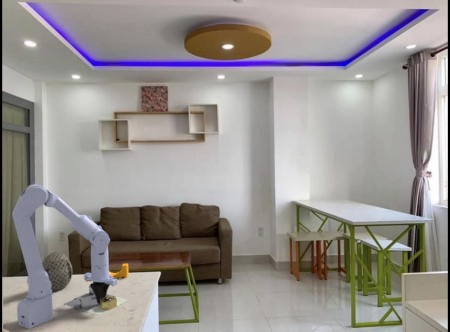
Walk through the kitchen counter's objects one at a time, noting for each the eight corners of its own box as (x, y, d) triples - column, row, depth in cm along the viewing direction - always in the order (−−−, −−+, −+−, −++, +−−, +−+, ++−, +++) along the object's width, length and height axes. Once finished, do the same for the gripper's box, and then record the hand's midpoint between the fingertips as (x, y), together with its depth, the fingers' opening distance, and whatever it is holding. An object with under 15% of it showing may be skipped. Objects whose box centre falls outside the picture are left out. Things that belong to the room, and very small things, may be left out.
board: (99, 318, 112) (99, 315, 112) (63, 306, 120) (63, 304, 120) (128, 302, 123) (128, 299, 123) (93, 293, 132) (93, 290, 132)
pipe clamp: (97, 282, 144) (96, 267, 143) (100, 278, 148) (100, 263, 148) (125, 282, 143) (125, 266, 143) (128, 278, 148) (128, 263, 147)
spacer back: (92, 295, 127) (92, 287, 127) (87, 294, 128) (87, 286, 128) (98, 292, 130) (98, 285, 129) (93, 291, 131) (93, 283, 131)
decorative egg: (64, 296, 130) (62, 256, 129) (33, 296, 130) (32, 257, 129) (78, 284, 141) (76, 248, 141) (49, 284, 142) (48, 248, 141)
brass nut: (107, 311, 114) (106, 303, 114) (96, 308, 117) (96, 300, 117) (120, 304, 119) (119, 297, 119) (109, 301, 122) (109, 294, 122)
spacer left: (77, 310, 116) (77, 301, 115) (71, 308, 117) (71, 299, 117) (84, 306, 118) (84, 298, 118) (78, 305, 119) (78, 296, 119)
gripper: (123, 263, 119) (124, 302, 120) (94, 258, 126) (95, 294, 127) (107, 269, 113) (108, 310, 114) (78, 263, 120) (79, 301, 121)
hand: (101, 302), depth 120 cm, fingers closed
